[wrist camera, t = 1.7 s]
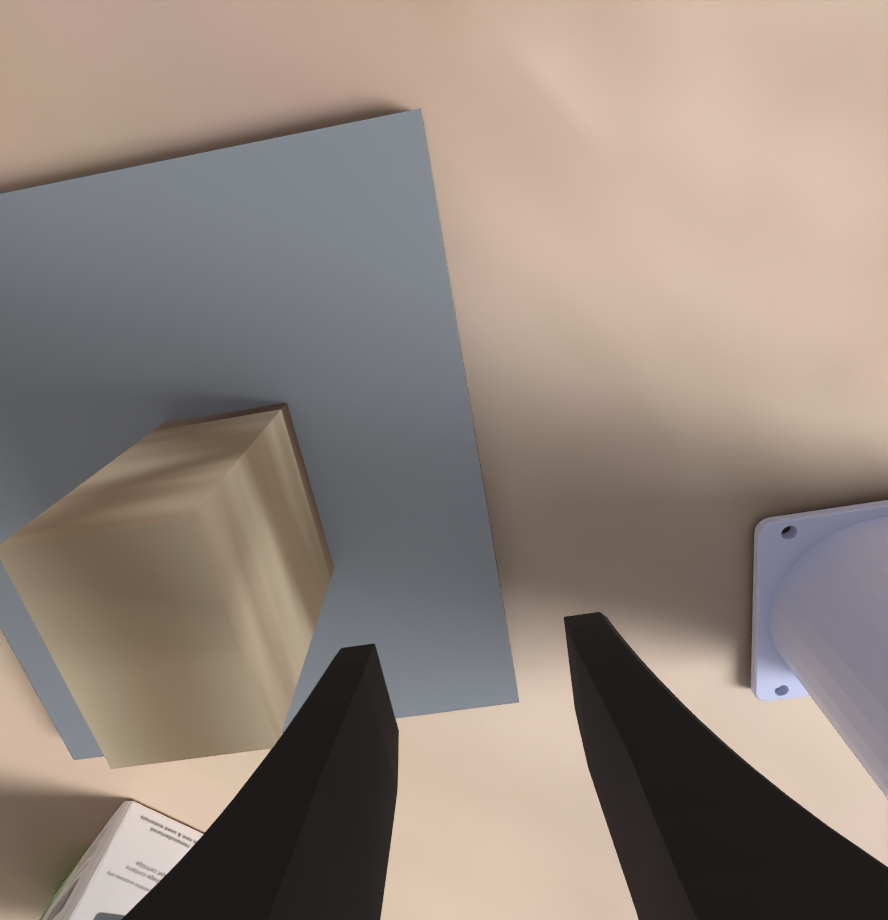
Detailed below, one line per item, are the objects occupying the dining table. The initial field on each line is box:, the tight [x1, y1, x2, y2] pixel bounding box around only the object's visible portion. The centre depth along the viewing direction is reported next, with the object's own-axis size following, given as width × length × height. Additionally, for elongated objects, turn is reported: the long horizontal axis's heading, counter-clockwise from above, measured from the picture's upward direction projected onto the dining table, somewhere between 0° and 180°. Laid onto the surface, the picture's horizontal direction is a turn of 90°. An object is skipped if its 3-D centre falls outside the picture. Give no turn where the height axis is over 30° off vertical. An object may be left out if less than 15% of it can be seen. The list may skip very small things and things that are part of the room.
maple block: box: [0, 403, 334, 769], centre depth 16 cm, size 4×6×8 cm, turn 10°
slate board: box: [0, 108, 519, 760], centre depth 20 cm, size 18×20×1 cm
